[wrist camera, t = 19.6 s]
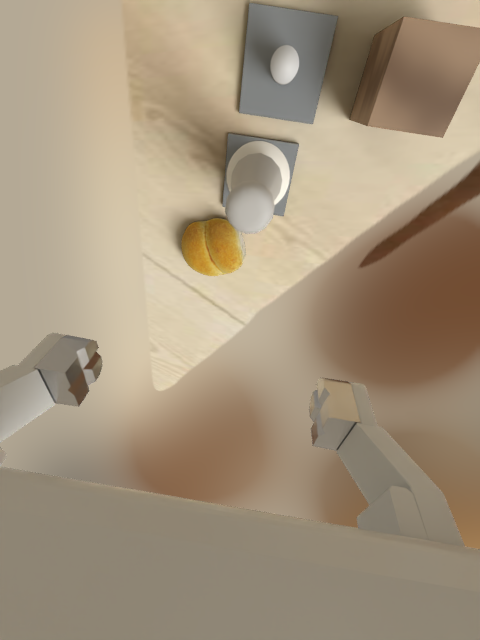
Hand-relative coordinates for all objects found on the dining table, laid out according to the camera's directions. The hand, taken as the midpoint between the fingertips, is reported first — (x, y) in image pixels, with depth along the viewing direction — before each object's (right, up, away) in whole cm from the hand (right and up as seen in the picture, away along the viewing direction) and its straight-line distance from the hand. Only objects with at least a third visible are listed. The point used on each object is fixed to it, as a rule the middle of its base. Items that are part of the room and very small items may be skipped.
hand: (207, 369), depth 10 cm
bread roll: (-2, +13, +31) cm, 33 cm away
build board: (+3, +19, +24) cm, 31 cm away
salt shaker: (+3, +19, +24) cm, 31 cm away
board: (+6, +27, +18) cm, 33 cm away
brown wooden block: (+16, +25, +18) cm, 35 cm away
